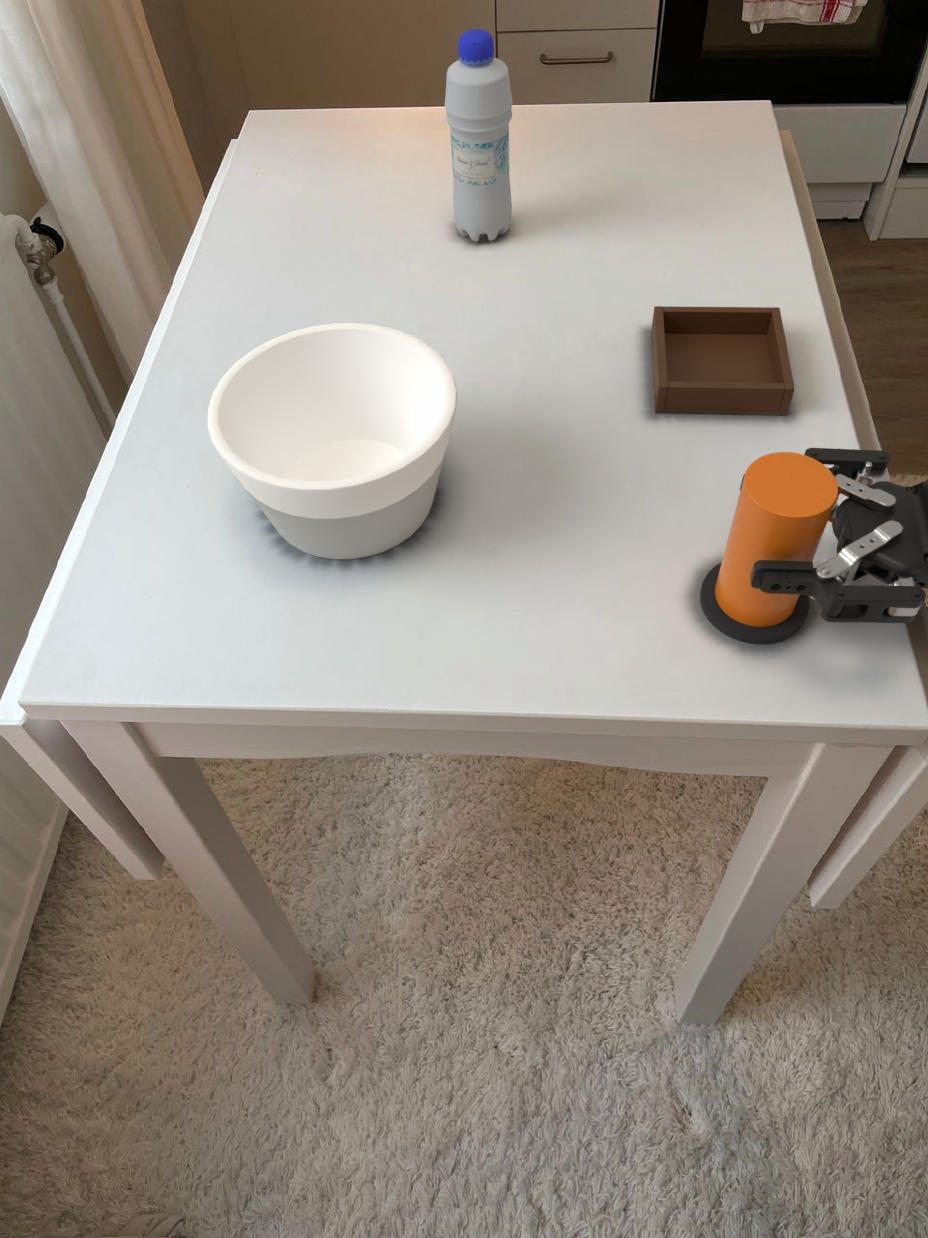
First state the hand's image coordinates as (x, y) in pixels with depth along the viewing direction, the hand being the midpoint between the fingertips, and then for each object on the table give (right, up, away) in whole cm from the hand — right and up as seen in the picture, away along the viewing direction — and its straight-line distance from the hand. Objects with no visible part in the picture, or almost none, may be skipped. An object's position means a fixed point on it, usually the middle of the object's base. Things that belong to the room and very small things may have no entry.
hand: (747, 528), depth 66 cm
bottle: (-18, +36, +38) cm, 56 cm away
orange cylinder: (+2, -4, +6) cm, 8 cm away
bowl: (-29, +4, +15) cm, 33 cm away
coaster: (+2, -5, +6) cm, 8 cm away
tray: (+4, +17, +22) cm, 28 cm away
